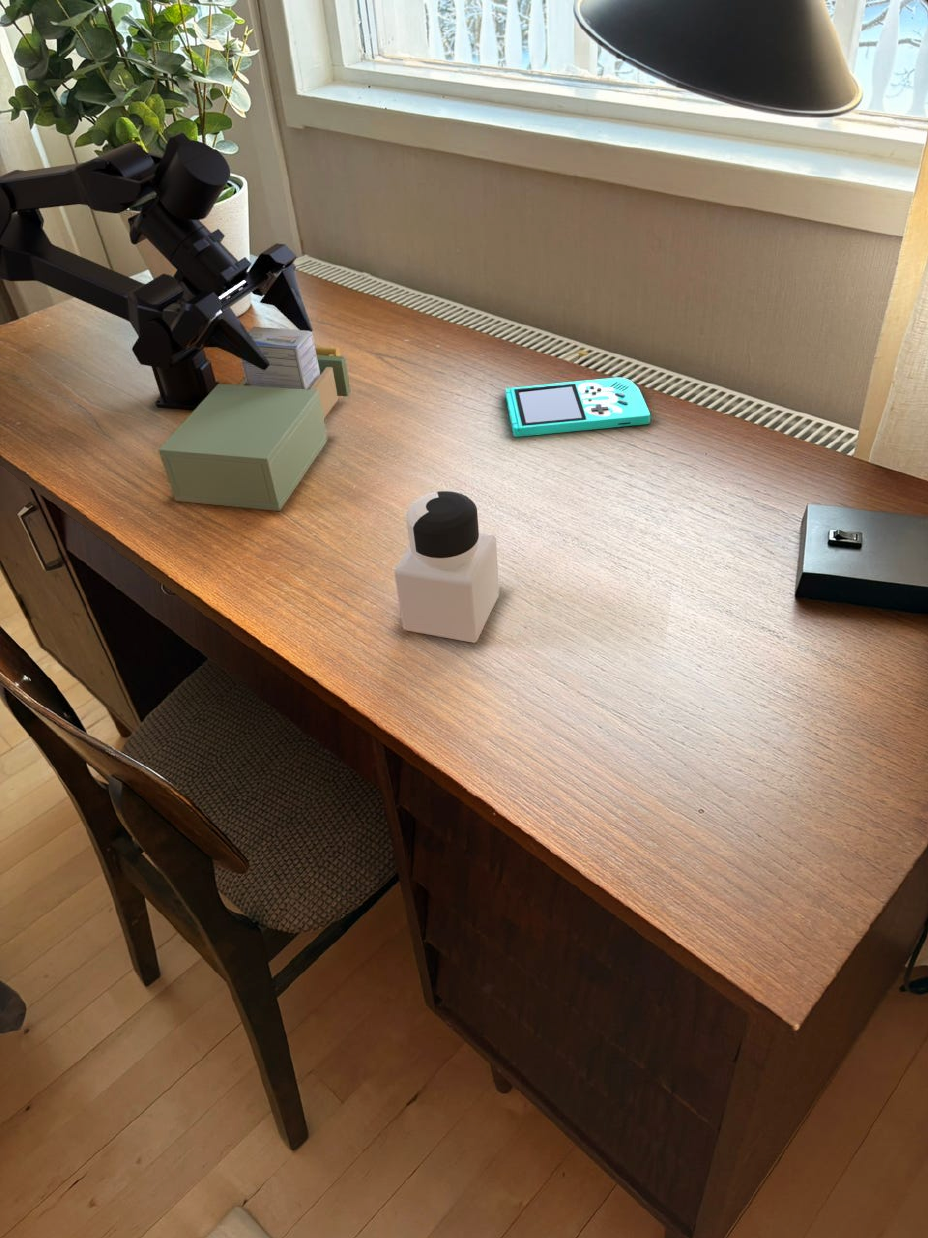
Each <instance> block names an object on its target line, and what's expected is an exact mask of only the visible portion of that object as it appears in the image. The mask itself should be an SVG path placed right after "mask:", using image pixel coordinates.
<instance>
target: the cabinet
mask: <svg viewBox="0 0 928 1238" xmlns="http://www.w3.org/2000/svg"><path fill="white" fill-rule="evenodd" d="M325 424H326V423H325V418H323V413H322V408H321V403H320V397H319V392H318V390H308V389H292V388H277V387H261V386H246V385H238V384H231V383H230V384H229V383H220V384H218V385H217V386H216V387H215V388H214V389H213V390H212V391H211V392H210V394H209V395H208V396H207V397H206V398H205V399H204V400H203V401H202V402H201V403H200V405H199V406H198V407H197V408H196V409H193V411H192V412H191V413H190V415H188V416H187V417H186V419H185V420H184V421H182V423H181V424H180V425H179V427H177V428H176V430H175V431H174V432H173V433H172V434H171V435H170V436H169V437H168V438H167V439H166V440H165V442H164V443H163V444H162V445H161V446H160V447H159V448H158V454H159V455H160V459H161V461H162V465H163V468H164V470H165V471H164V472H165V474H166V477H167V480H168V483H169V486H170V489H171V491H172V495H173V498H174V501H175V502H183V503H193V504H203V505H214V506H224V507H233V508H245V509H254V510H264V511H265V510H266V511H272V512H273V511H274V512H275V511H276V512H280V511H281V510H282V509H283V507H284V505H285V504H286V503H287V501H288V500H289V498H290V496H291V495H292V494H293V492H294V491H295V489H296V488H297V486H298V485H299V484H300V482H301V480H303V478H304V476H305V475H306V473H307V472H308V471H309V469H310V468H311V466H312V465H313V463H314V461H315V460H316V458H317V457H318V455H319V454H320V453H321V452H322V450H323V448H324V447H325V446H326V444H327V442H328V441H329V440H328V434H327V428H326V425H325Z"/></svg>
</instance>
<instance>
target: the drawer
mask: <svg viewBox="0 0 928 1238" xmlns="http://www.w3.org/2000/svg"><path fill="white" fill-rule="evenodd" d="M315 350H316V355H317V360H318V365H319V370H320V376H319V378H318V379H317V380H316V381H315V383H314V384H313V385H312V387H311V388H310V389H309V390H318V392H319V397H320V403H321V408H322V413H323V418H324V419H326V417H327V416H328V414H329V412H330V411H331V410H332V408H333V407H334V406H335V404H337V401H338V400H339V397H349V395H350V393H351V386H350V380H349V375H348V374H349V373H348V368H347V362H346V357H345V356H344V355H343V356H341V350H340V348H339V347H331V346H330V347H327V346H315ZM237 385H246V386H248V385H247V381H246V377H245V376H244V377H243V379H241V381H239V383H238V384H237Z"/></svg>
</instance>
